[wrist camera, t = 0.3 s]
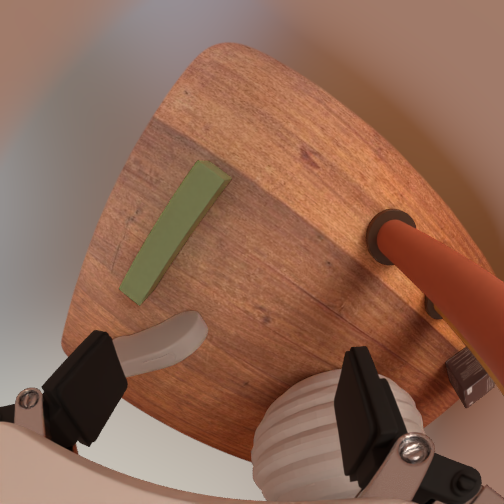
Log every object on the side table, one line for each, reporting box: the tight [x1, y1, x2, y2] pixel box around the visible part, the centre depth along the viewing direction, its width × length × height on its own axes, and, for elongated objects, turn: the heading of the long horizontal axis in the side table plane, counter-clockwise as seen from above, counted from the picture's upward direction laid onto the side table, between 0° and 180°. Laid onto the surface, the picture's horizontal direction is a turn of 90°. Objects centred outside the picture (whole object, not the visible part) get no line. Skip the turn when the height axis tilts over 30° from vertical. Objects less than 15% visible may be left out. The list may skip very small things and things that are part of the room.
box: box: [446, 346, 494, 408], centre depth 27 cm, size 6×6×7 cm
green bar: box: [119, 160, 232, 306], centre depth 26 cm, size 3×16×4 cm, turn 142°
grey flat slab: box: [112, 311, 208, 377], centre depth 29 cm, size 20×2×8 cm, turn 117°
